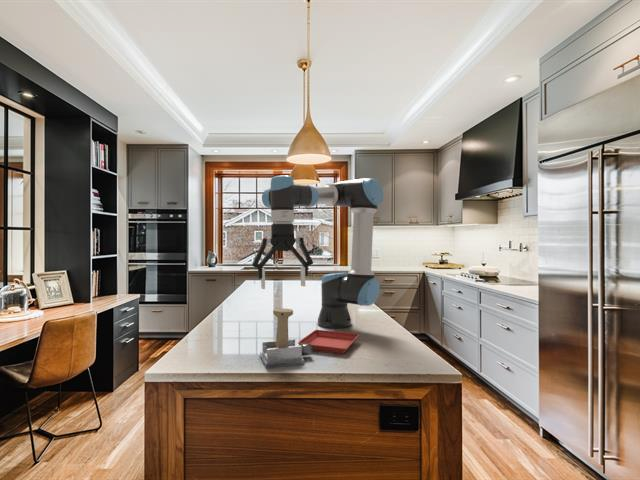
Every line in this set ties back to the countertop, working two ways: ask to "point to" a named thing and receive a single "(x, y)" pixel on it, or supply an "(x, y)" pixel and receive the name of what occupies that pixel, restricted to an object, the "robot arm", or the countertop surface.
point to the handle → (282, 326)
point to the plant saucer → (329, 341)
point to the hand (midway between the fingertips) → (283, 287)
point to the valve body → (284, 354)
